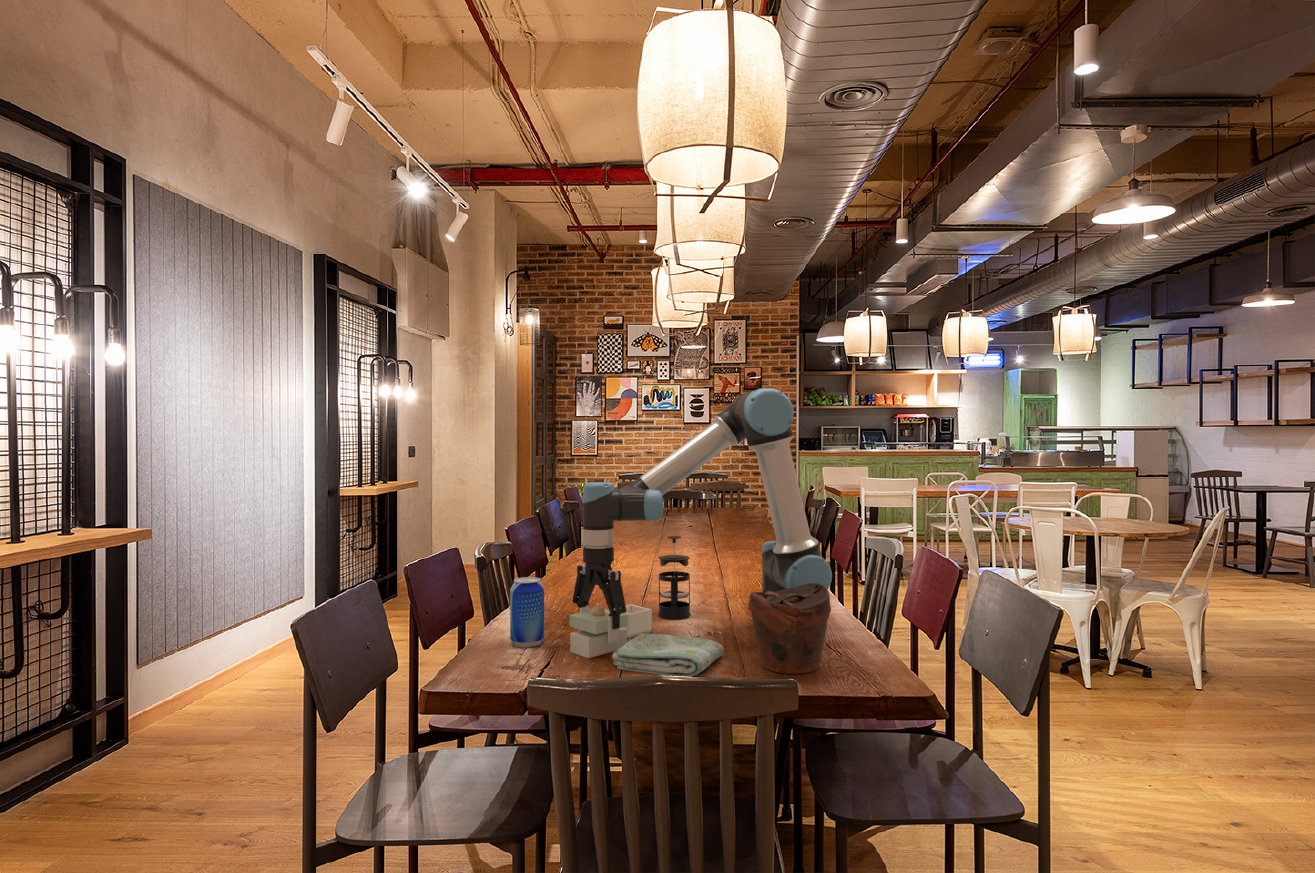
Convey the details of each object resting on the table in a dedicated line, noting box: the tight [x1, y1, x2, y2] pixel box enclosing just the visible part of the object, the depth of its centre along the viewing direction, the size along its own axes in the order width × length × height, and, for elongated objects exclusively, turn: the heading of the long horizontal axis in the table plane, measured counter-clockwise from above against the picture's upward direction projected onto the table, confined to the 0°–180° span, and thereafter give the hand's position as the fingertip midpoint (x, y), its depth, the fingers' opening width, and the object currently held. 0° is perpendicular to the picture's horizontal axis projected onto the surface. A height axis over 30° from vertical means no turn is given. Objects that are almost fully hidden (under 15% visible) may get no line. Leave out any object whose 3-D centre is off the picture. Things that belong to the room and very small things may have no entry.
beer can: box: [509, 576, 545, 648], centre depth 178 cm, size 8×8×16 cm
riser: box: [569, 628, 628, 659], centre depth 173 cm, size 7×12×4 cm, turn 135°
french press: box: [657, 535, 692, 621], centre depth 206 cm, size 12×9×23 cm
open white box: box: [614, 604, 653, 639], centre depth 188 cm, size 8×8×6 cm
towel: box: [611, 633, 725, 677], centre depth 163 cm, size 18×21×5 cm
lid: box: [569, 604, 628, 634], centre depth 173 cm, size 10×10×5 cm
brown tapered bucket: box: [747, 583, 832, 675], centre depth 160 cm, size 18×20×18 cm
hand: (598, 637), depth 173 cm, fingers closed on lid, 10 cm apart
